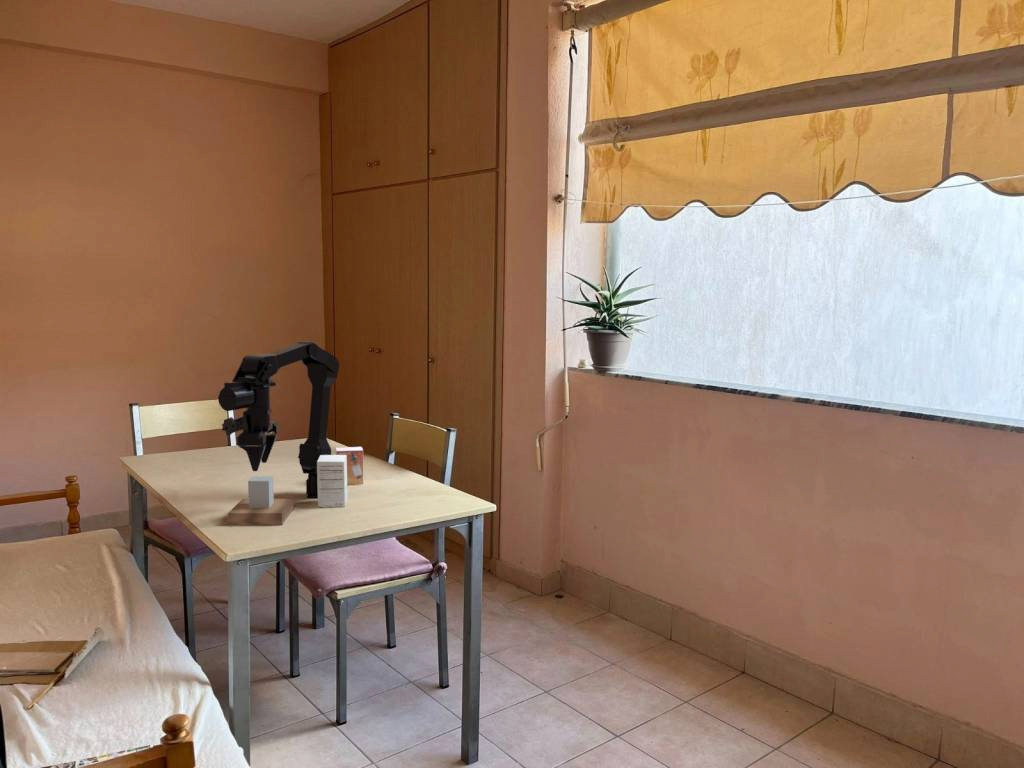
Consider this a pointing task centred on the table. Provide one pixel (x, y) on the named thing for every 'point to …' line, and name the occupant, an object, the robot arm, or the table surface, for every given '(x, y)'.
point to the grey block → (260, 492)
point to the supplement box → (332, 480)
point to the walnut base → (260, 513)
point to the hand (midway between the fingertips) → (259, 466)
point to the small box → (353, 464)
